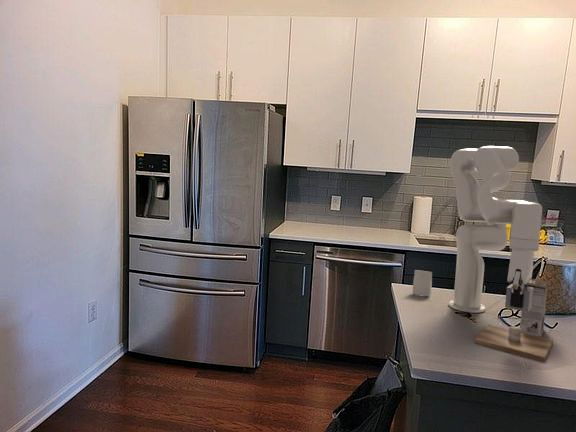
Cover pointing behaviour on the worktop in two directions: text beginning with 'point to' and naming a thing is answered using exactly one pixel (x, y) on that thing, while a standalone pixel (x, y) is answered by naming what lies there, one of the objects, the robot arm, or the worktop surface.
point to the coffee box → (535, 309)
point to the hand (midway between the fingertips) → (518, 304)
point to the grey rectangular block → (422, 283)
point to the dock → (515, 342)
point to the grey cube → (526, 301)
